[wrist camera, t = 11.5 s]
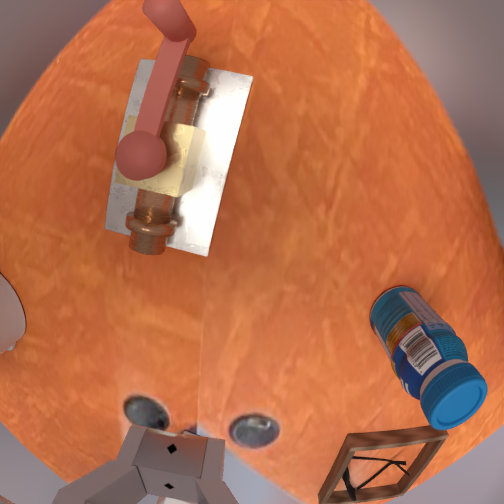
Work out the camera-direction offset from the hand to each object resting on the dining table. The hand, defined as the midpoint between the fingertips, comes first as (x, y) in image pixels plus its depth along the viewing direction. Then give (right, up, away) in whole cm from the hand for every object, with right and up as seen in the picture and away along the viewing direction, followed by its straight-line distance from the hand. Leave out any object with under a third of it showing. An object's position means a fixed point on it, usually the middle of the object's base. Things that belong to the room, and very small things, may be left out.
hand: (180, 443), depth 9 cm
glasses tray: (+29, -39, +44) cm, 66 cm away
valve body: (-7, +18, +27) cm, 33 cm away
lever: (-6, +20, +17) cm, 27 cm away
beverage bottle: (+22, -2, +33) cm, 39 cm away
